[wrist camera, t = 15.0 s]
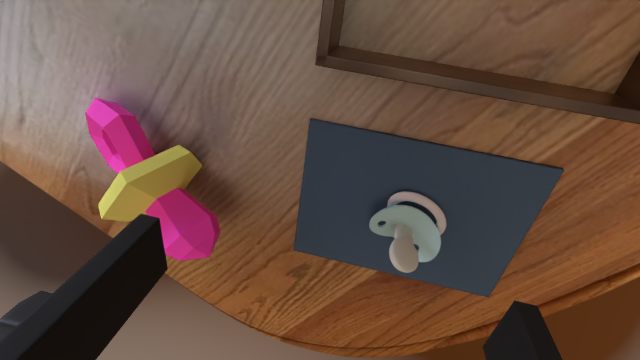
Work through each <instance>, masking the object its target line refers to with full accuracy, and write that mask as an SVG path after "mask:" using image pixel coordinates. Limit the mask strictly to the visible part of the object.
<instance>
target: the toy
mask: <svg viewBox="0 0 640 360" xmlns="http://www.w3.org/2000/svg"><path fill="white" fill-rule="evenodd" d="M86 118H87V123H88V128H89V133H90V136H91V137H92V139H93V141H94V142H95V144H96V146H97V147H98V149H99V151H100V152H101V154H102V155H103V157H104V159H105V160H106V162H107V164H108V165H109V166H110V167H111V168H112V169H113V170H114V171H116V172H117V173H118V175H117V177H116V178H115V180H114V181H113V183H112V184H111V186H110V187H109V189H108V190H107V192H106V193H105V195H104V196H103V198H102V199H101V201H100V202H99V204H98V205H99V210H100V214H101V219H108V220H116V221H125V222H129V221H131V220H134V219H135V218H136V217H138V216H139V215H140V214H145V215H149V216H153V217H157V218H160V224H161V231H162V237H163V243H164V249H165V254H166V255H168V256H170V257H173V258H175V259H177V260H179V261H182V260H189V259H197V258H205V257H210V255H211V252H212V250H213V248H214V246H215V243H216V241H217V239H218V236H219V234H220V228H219V223H218V218H217V216H216V215H215V214H214V213H212V212H211V211H210V210H209V209H208V208H206V207H205V206H204V205H203V204H201V203H200V202H199V201H198V200H196V199H195V198H194V197H193V196H191V195H190V194H189V193H188V192H186V191H185V190H184V189H185V188H186V186H187V185H188V184H189V182H190V181H191V180H192V179H193V177H194V176H195V175H196V173H197V172H198V171H199V170H200V168H201V167H202V166H203V165H202V164H201V163H200V162H199V161H198V160H197V158H196V157H195V156H194V155H193V154H192V153H191V152H190V151H188V150H187V149H185V148H183V147H182V146H180V145H177V146H174V147H172V148H170V149H168V150H166V151H163V152H161V153H159V154H157V155H155V153H154V151H153V150H152V148H151V146H150V144H149V142H148V140H147V138H146V136H145V134H144V132H143V130H142V128H141V127H140V125H139V123H138V121H137V119H136V117H135V116H134V115H133V114H131V113H130V112H128V111H127V110H126V109H124V108H123V107H121V106H120V105H118V104H117V103H114V102H110V101H106V100H103V99H99V98H96V97H95V99H94V101H93V102H92V104H91V105H90V107H89V109H88V110H87V112H86Z"/></svg>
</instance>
